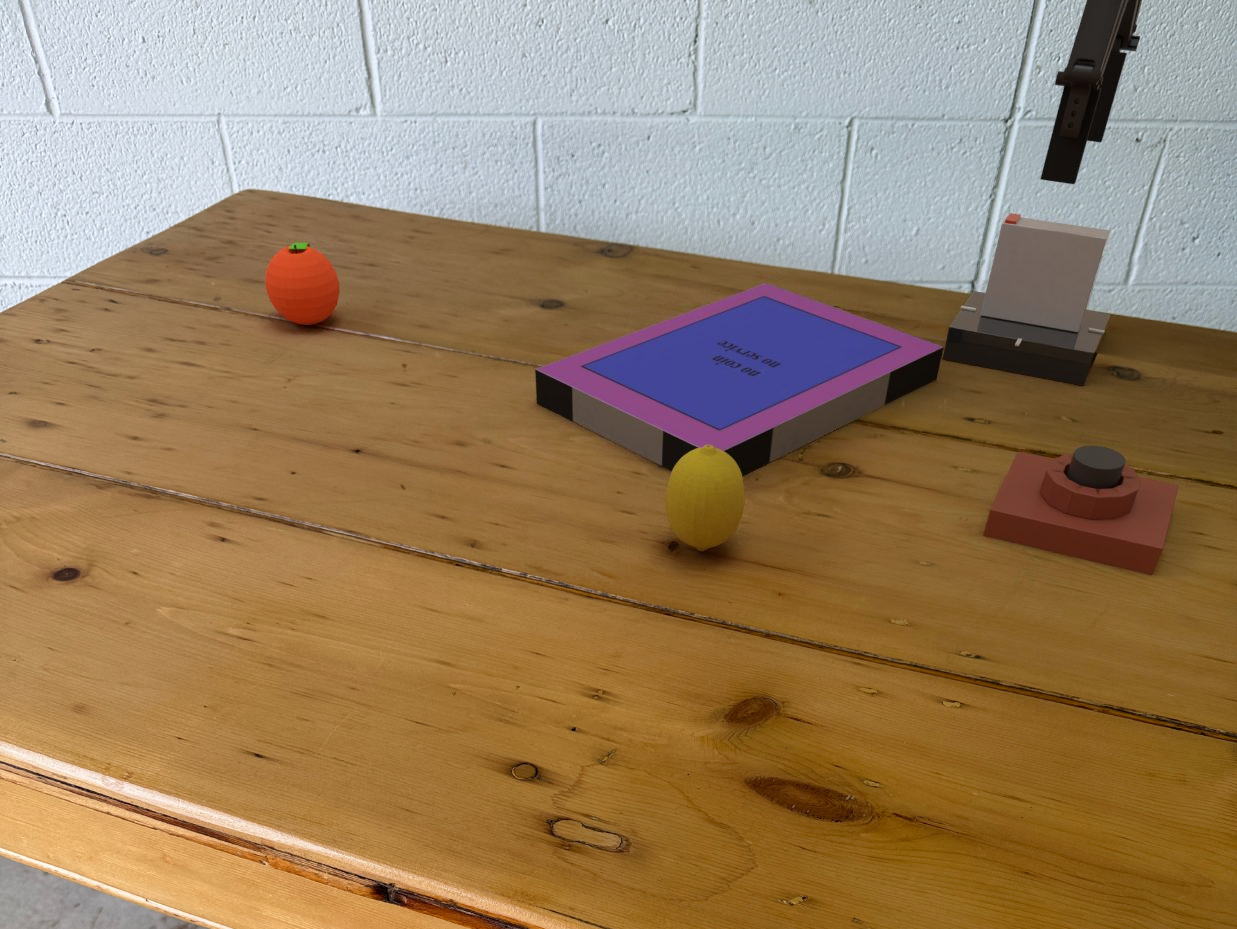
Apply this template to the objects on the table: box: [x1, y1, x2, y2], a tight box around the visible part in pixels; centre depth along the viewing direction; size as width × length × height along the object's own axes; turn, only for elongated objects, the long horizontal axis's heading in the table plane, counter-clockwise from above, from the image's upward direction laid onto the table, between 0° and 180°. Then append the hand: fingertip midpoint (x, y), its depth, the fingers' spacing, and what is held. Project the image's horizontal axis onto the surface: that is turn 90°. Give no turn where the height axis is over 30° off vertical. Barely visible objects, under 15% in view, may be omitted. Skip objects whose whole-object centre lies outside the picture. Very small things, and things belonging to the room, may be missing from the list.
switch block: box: [982, 451, 1180, 576], centre depth 82 cm, size 12×10×4 cm
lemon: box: [664, 445, 746, 552], centre depth 78 cm, size 6×6×8 cm
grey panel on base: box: [981, 212, 1111, 332], centre depth 100 cm, size 9×2×8 cm, turn 64°
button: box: [1067, 445, 1127, 489], centre depth 80 cm, size 4×4×2 cm
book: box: [534, 282, 945, 477], centre depth 98 cm, size 21×3×30 cm
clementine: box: [264, 242, 341, 326], centre depth 107 cm, size 8×7×7 cm
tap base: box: [941, 290, 1112, 387], centre depth 104 cm, size 13×13×3 cm
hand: (1072, 159), depth 94 cm, fingers open, 13 cm apart
